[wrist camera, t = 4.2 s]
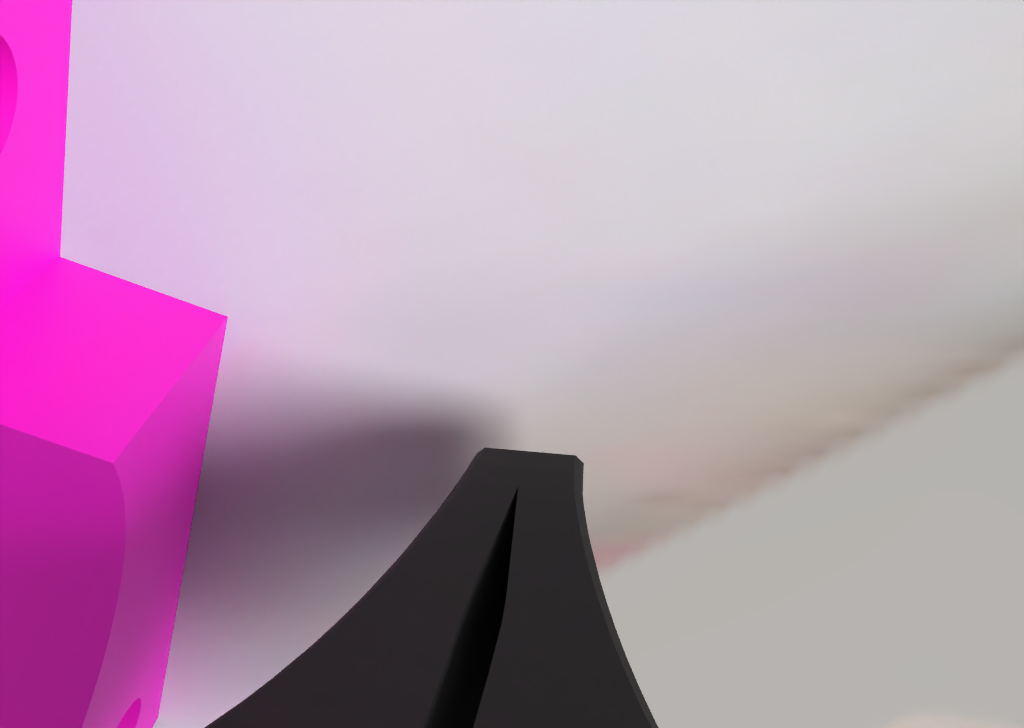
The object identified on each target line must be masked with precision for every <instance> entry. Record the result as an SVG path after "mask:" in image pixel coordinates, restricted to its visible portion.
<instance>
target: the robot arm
mask: <svg viewBox="0 0 1024 728" xmlns="http://www.w3.org/2000/svg"><path fill="white" fill-rule="evenodd" d="M583 465H584V463H583V462H582V461H580V460H579V459H578V458H577V457H576V456H574V455H562V454H551V453H539V452H528V451H516V450H505V449H493V448H484V449H483V450H481V451H480V452H479V453H477V454H476V456H475V458H474V459H473V461H472V462H471V464H470V466H469V467H468V469H467V470H466V472H465V473H464V475H463V476H462V478H461V479H460V480H459V482H458V483H457V485H456V486H455V488H454V489H453V490H452V492H451V493H450V495H449V496H448V497H447V499H446V500H445V501H444V503H443V504H442V505H441V507H440V508H439V509H438V511H437V512H436V513H435V515H434V516H433V517H432V518H431V520H430V521H429V522H428V523H427V524H426V526H425V527H424V528H423V529H422V531H421V532H420V533H419V534H418V536H417V537H416V538H415V539H414V540H413V542H412V543H411V544H410V545H409V547H408V548H407V549H406V550H405V551H404V553H403V554H402V555H401V556H400V557H399V558H398V559H397V561H396V562H395V563H394V564H393V565H392V566H391V567H390V568H389V569H388V570H387V571H386V572H385V574H384V575H383V576H382V577H381V578H380V579H379V580H378V581H377V582H376V583H375V584H374V586H373V587H372V588H371V589H370V590H369V591H368V592H367V593H366V594H365V595H364V596H363V597H362V598H361V599H360V600H359V601H358V602H357V603H356V604H355V605H354V606H353V607H352V608H351V609H350V610H349V611H348V612H347V613H346V614H345V615H344V616H343V617H342V618H341V619H340V620H339V621H338V622H337V623H336V624H335V625H334V626H333V627H332V628H330V629H329V630H328V631H327V632H326V633H325V634H324V635H323V636H322V637H321V638H320V639H318V640H317V641H316V642H315V643H314V644H313V645H312V646H311V647H309V648H308V649H307V650H306V651H305V652H304V653H302V654H301V655H300V656H299V657H298V658H296V659H295V660H294V661H293V662H292V663H290V664H289V665H288V666H287V667H286V668H284V669H283V670H282V671H281V672H279V673H278V674H277V675H276V676H275V677H273V678H272V679H271V680H270V681H268V682H267V683H266V684H265V685H263V686H262V687H261V688H259V689H258V690H257V691H256V692H254V693H253V694H252V695H250V696H249V697H248V698H246V699H245V700H244V701H242V702H241V703H239V704H238V705H237V706H235V707H234V708H232V709H231V710H229V711H228V712H227V713H225V714H224V715H222V716H221V717H219V718H218V719H216V720H215V721H214V722H212V723H211V724H209V725H208V726H206V727H205V728H658V726H657V724H656V723H655V720H654V718H653V716H652V714H651V712H650V709H649V708H648V705H647V703H646V701H645V699H644V697H643V695H642V692H641V690H640V688H639V686H638V684H637V681H636V679H635V676H634V674H633V672H632V669H631V667H630V665H629V662H628V660H627V658H626V655H625V652H624V650H623V647H622V645H621V642H620V639H619V637H618V634H617V631H616V629H615V626H614V623H613V620H612V617H611V614H610V611H609V608H608V605H607V602H606V599H605V596H604V592H603V589H602V586H601V582H600V579H599V575H598V571H597V567H596V563H595V560H594V556H593V552H592V548H591V544H590V539H589V534H588V530H587V524H586V517H585V511H584V504H583V494H582V492H583Z"/></svg>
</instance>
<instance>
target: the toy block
mask: <svg viewBox="0 0 1024 728" xmlns="http://www.w3.org/2000/svg"><path fill="white" fill-rule="evenodd" d="M71 13H72V0H0V728H152V727H153V725H154V723H155V722H156V720H157V718H158V713H159V707H160V702H161V696H162V690H163V684H164V679H165V673H166V667H167V661H168V656H169V650H170V644H171V639H172V633H173V627H174V621H175V616H176V610H177V604H178V598H179V593H180V587H181V581H182V575H183V570H184V564H185V558H186V553H187V547H188V541H189V535H190V530H191V524H192V518H193V512H194V507H195V501H196V495H197V490H198V484H199V478H200V472H201V467H202V461H203V455H204V449H205V444H206V438H207V432H208V427H209V421H210V415H211V409H212V404H213V398H214V392H215V386H216V381H217V375H218V369H219V363H220V358H221V352H222V346H223V341H224V335H225V329H226V323H227V318H228V317H227V316H224V315H221V314H218V313H215V312H213V311H210V310H207V309H204V308H201V307H199V306H196V305H193V304H190V303H187V302H185V301H182V300H179V299H176V298H173V297H171V296H168V295H165V294H162V293H159V292H157V291H154V290H151V289H148V288H145V287H143V286H140V285H137V284H134V283H131V282H129V281H126V280H123V279H120V278H117V277H115V276H112V275H109V274H106V273H103V272H101V271H98V270H95V269H92V268H89V267H87V266H84V265H81V264H78V263H75V262H73V261H70V260H67V259H64V258H61V257H60V245H61V224H62V203H63V182H64V161H65V140H66V118H67V97H68V76H69V55H70V34H71Z"/></svg>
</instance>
